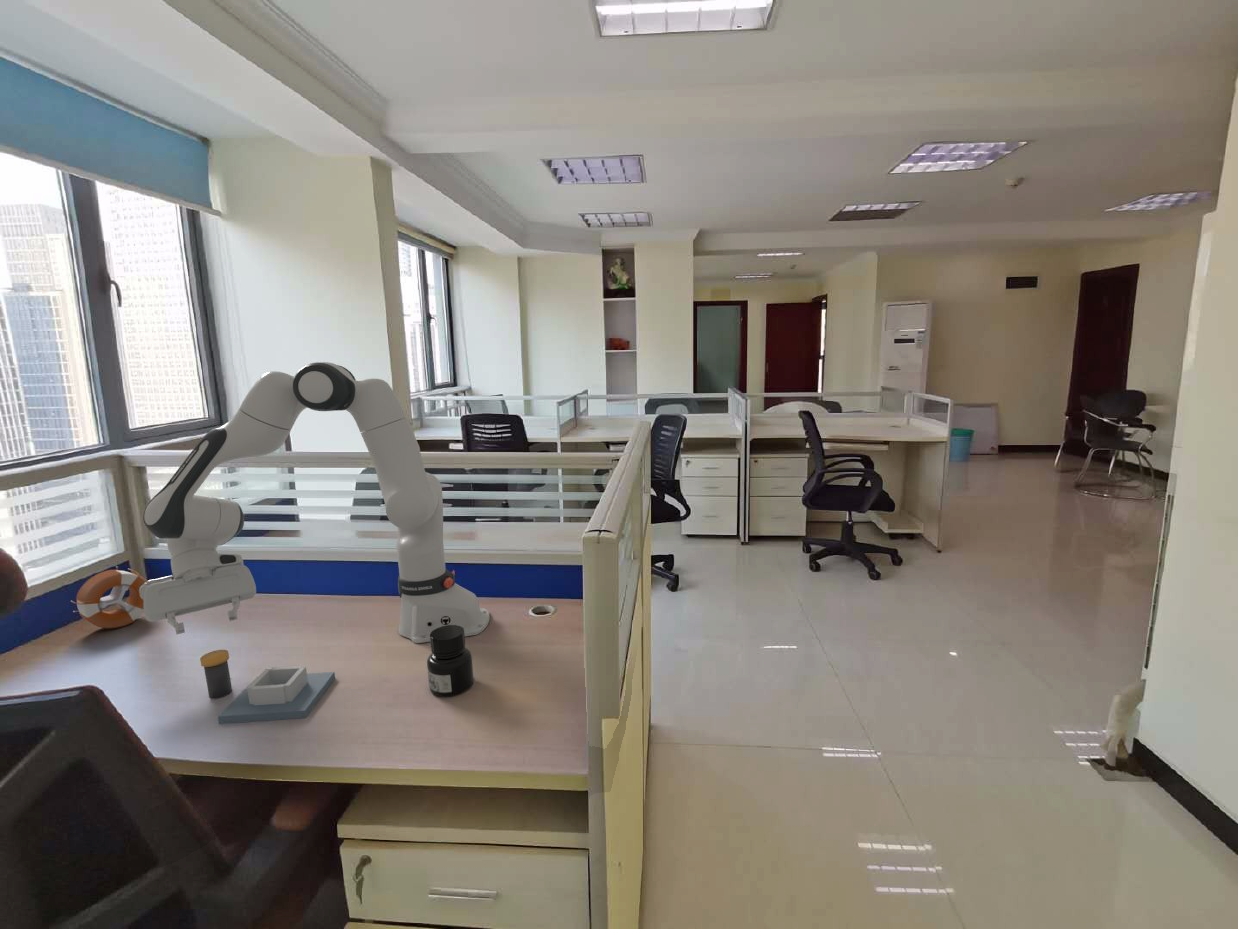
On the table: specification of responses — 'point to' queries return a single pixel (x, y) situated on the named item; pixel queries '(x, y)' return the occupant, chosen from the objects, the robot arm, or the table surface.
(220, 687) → the knob
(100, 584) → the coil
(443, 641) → the ink bottle
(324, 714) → the table surface
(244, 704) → the mount
